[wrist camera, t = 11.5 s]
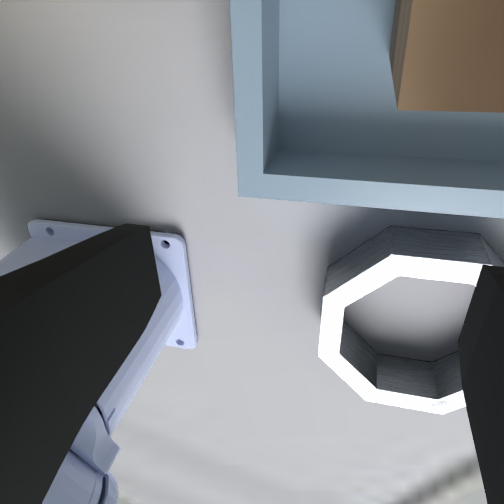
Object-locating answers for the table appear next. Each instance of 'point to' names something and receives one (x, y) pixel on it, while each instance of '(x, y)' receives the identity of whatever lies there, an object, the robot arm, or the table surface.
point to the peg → (448, 55)
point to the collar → (377, 274)
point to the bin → (349, 116)
